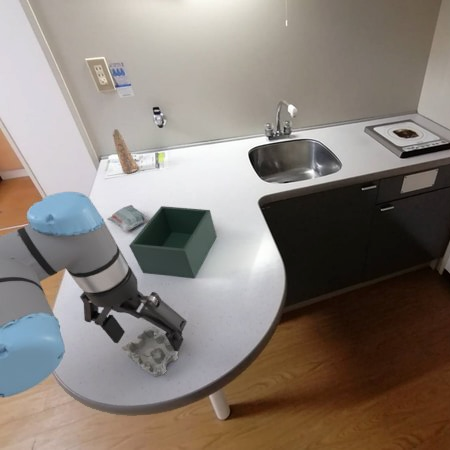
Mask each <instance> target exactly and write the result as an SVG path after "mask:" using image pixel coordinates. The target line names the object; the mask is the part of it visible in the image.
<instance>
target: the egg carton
mask: <svg viewBox="0 0 450 450" xmlns="http://www.w3.org/2000/svg"><path fill="white" fill-rule="evenodd" d="M165 334H166V333H164V332H162V331H161V329H159V328H158V327H156V326H150V327H147V328H146V329H145V330H143V332H142V333H141V334H139V335H138V336H137V338H136V339H135V341H133V342H132V341H130V342H128V343H127V344H126V345H125V346H122V347H121V348H122V350H123V351H124V352H126V354H127V356H128V358H129V359H130V360H131V361H133V362H135V363H136V364H137V365H138V366H139V367H140V368H141V369H143V370H145V372H148V373H150V375H151V376H152V377H154V378H156V377H158V376H160V375H161V376H164V375H165V374H166V372H167V369H166V367H167V365H168V364H169V363H171V362H176V361H177V360H178V359H179V355H178V354H179V351H180V349H179V350H178V351H174V349H173V347H172V346H171V344H170V342H169V340H168V339H167V337H166V335H165Z"/></svg>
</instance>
